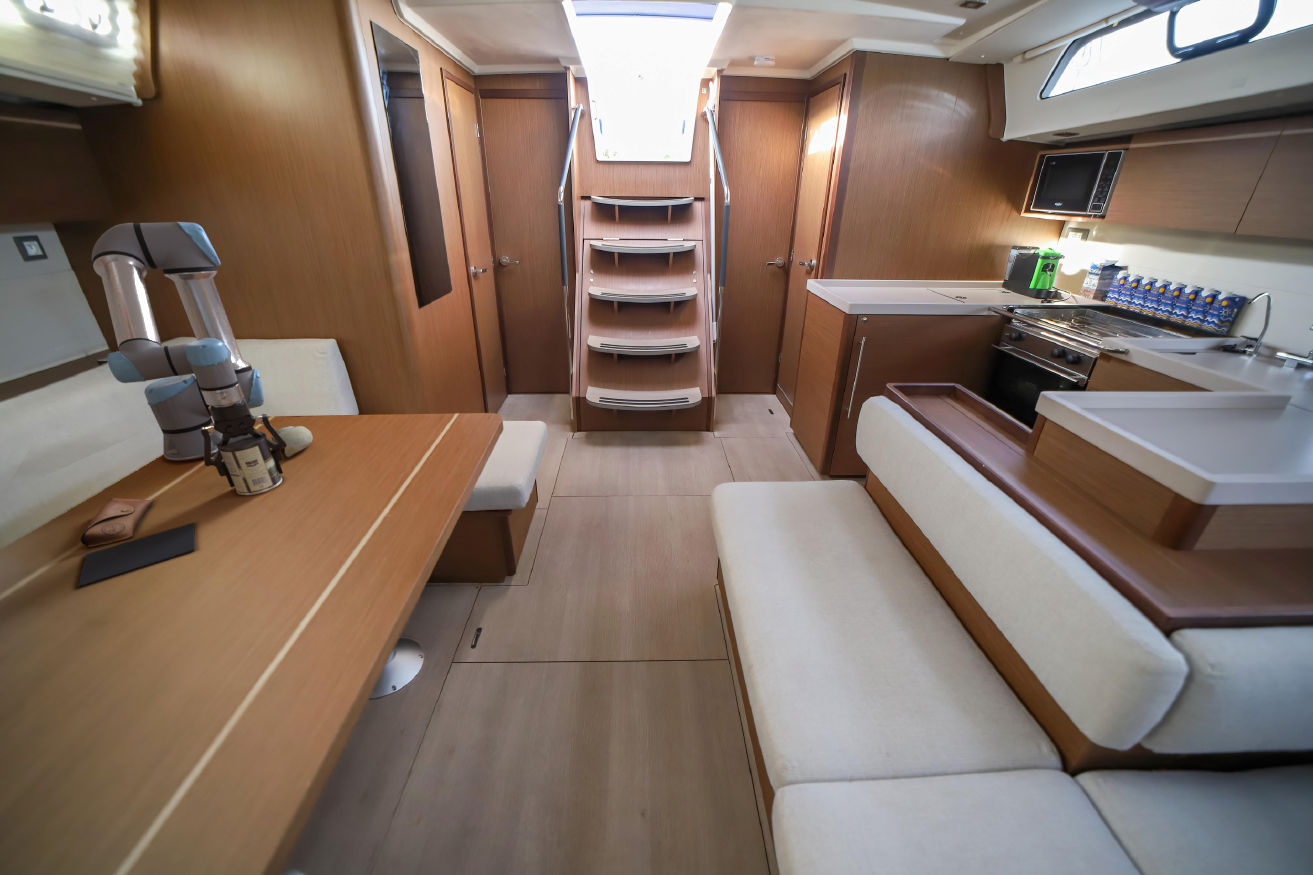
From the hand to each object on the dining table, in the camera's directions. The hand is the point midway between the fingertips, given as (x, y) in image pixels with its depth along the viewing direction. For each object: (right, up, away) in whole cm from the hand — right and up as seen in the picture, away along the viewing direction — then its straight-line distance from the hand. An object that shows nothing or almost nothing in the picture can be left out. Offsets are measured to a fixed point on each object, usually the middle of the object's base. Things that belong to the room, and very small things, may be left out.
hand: (257, 478), depth 135 cm
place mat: (-6, -15, -25) cm, 29 cm away
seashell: (-4, +7, +20) cm, 22 cm away
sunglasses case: (-21, -10, -15) cm, 27 cm away
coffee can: (0, -2, +1) cm, 2 cm away
